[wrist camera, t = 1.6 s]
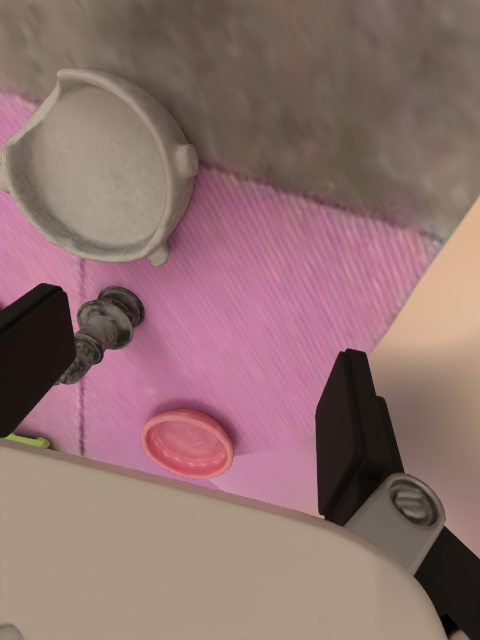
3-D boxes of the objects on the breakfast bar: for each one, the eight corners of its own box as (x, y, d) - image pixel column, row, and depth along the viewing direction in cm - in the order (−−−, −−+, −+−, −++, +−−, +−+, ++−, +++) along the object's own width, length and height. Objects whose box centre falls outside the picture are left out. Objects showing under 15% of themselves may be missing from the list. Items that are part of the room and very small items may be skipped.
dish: (23, 187, 31) (-21, 201, 27) (69, 21, 24) (19, 5, 20) (158, 278, 34) (138, 303, 30) (236, 155, 27) (223, 166, 23)
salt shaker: (86, 285, 36) (2, 357, 26) (137, 282, 35) (69, 355, 25) (106, 331, 39) (38, 410, 29) (153, 329, 38) (99, 411, 28)
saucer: (160, 457, 51) (152, 476, 48) (138, 397, 44) (127, 415, 42) (241, 463, 48) (238, 484, 46) (231, 400, 42) (225, 420, 39)
